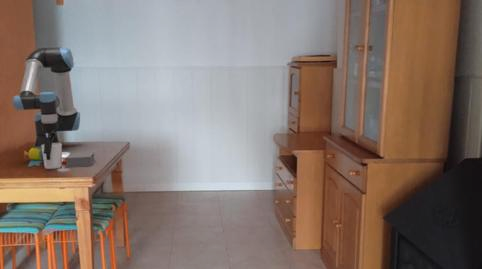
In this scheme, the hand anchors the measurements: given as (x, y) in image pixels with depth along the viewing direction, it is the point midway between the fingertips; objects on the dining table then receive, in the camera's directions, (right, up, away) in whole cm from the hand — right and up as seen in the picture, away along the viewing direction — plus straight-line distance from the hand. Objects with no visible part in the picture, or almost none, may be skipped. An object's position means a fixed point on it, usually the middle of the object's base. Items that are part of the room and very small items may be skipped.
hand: (53, 162), depth 232 cm
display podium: (+12, -1, +6) cm, 14 cm away
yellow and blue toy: (-15, -1, +17) cm, 23 cm away
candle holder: (0, -2, 0) cm, 2 cm away
